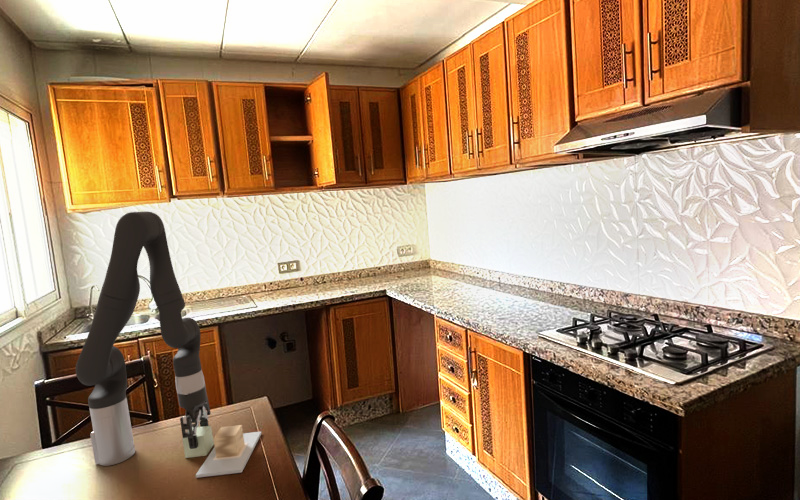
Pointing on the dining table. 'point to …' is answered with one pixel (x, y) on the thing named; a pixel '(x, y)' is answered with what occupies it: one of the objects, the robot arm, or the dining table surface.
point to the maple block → (229, 441)
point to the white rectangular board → (229, 459)
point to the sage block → (200, 442)
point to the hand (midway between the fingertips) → (200, 440)
